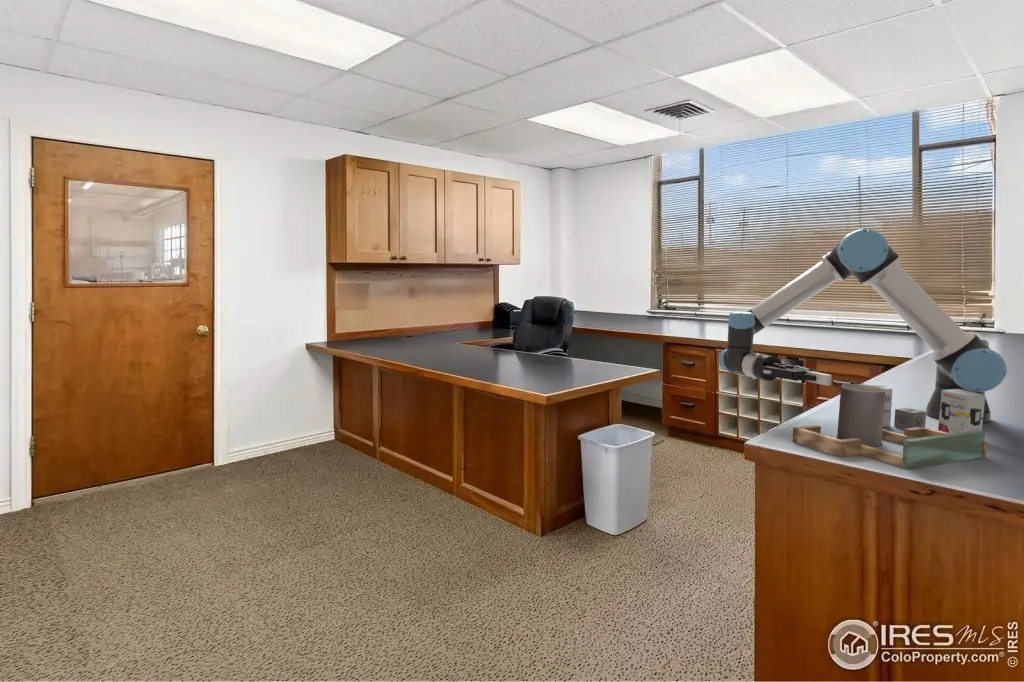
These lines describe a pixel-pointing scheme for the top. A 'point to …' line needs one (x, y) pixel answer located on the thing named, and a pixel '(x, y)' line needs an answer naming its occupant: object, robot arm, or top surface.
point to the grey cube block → (909, 418)
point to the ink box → (961, 411)
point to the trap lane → (917, 449)
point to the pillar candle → (861, 413)
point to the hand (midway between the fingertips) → (829, 380)
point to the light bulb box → (886, 405)
